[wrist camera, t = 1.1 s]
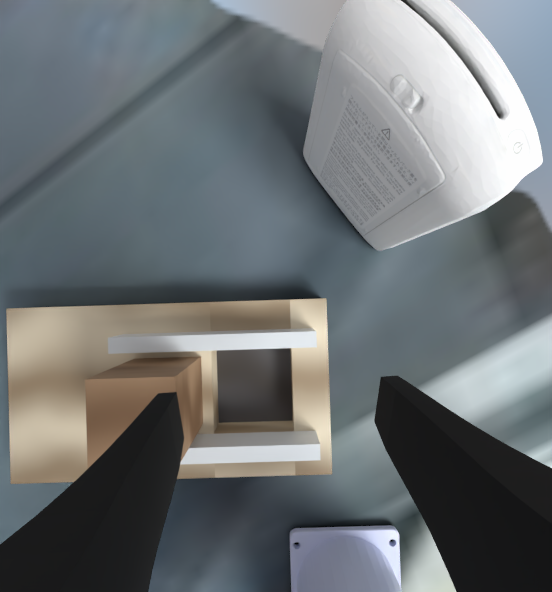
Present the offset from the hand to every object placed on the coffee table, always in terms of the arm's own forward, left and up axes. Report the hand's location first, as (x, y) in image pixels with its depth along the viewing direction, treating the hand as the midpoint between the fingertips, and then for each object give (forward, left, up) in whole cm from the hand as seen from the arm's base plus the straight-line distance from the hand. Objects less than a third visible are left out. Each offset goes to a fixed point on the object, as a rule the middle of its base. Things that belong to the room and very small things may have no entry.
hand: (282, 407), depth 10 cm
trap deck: (-2, +8, -11) cm, 14 cm away
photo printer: (+12, -6, -12) cm, 18 cm away
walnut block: (-2, +8, -9) cm, 12 cm away
